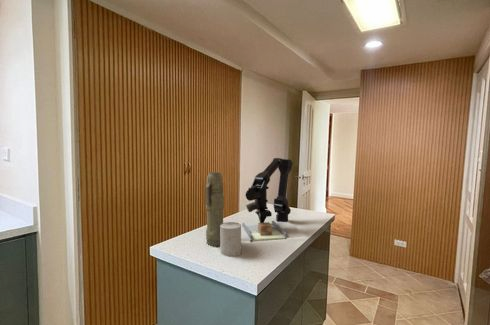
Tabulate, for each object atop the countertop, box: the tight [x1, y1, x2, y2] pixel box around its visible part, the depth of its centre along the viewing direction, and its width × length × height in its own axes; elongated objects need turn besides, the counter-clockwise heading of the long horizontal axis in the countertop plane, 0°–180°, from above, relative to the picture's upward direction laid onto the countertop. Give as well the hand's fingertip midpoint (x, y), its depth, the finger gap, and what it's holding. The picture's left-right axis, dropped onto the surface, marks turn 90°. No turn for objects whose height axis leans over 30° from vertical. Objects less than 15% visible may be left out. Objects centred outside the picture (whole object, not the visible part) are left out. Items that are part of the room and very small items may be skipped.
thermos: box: [205, 171, 225, 247], centre depth 131 cm, size 9×12×35 cm
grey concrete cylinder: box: [219, 221, 242, 257], centre depth 121 cm, size 10×10×12 cm
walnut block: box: [257, 221, 273, 236], centre depth 142 cm, size 6×6×5 cm
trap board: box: [241, 220, 288, 243], centre depth 146 cm, size 22×19×3 cm
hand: (261, 225), depth 150 cm, fingers closed
